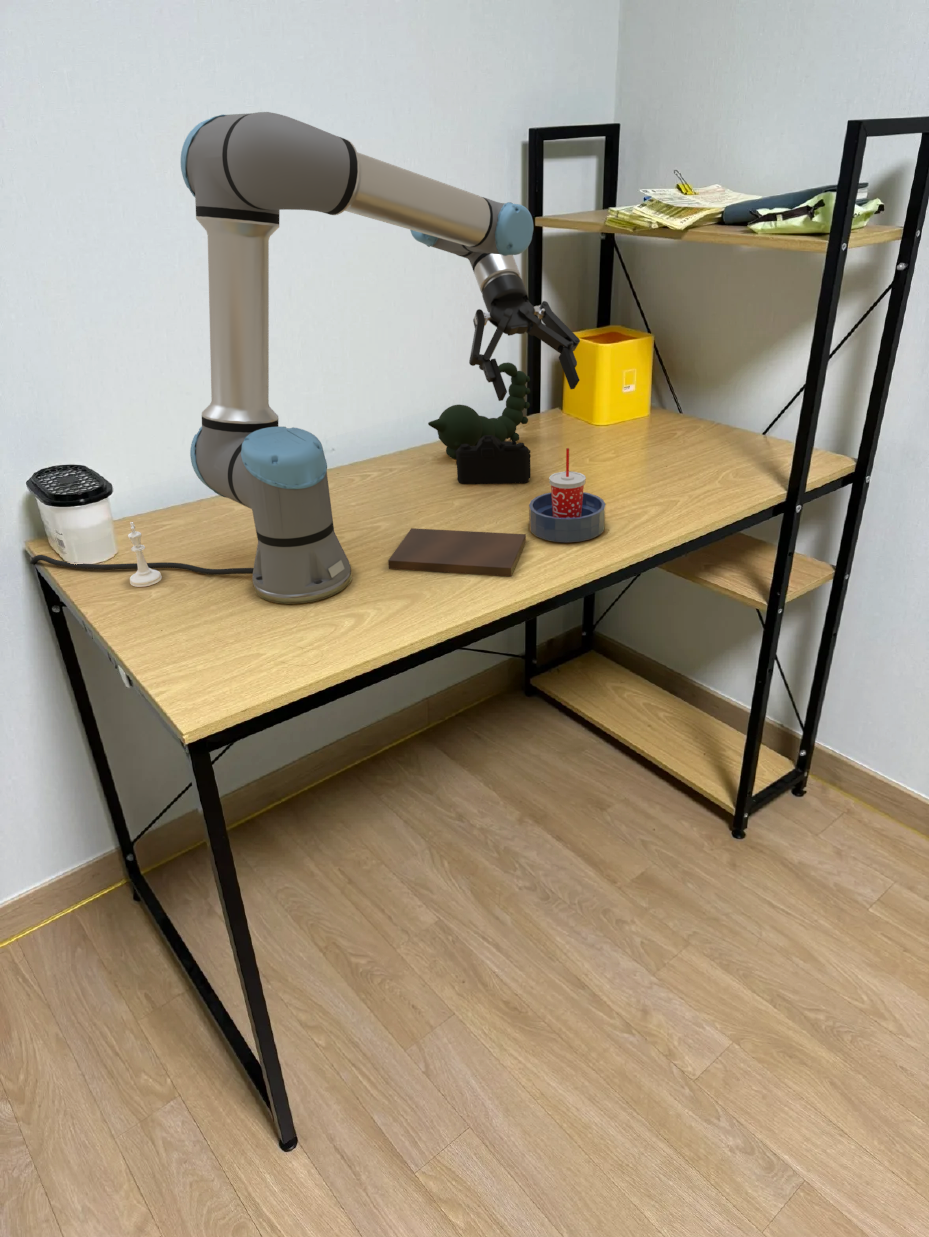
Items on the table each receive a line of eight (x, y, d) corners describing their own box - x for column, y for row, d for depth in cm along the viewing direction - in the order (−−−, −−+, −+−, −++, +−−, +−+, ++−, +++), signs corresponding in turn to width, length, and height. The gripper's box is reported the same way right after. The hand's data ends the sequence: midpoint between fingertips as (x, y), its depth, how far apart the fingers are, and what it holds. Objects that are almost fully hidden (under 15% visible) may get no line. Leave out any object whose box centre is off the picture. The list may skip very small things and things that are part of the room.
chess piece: (129, 589, 138) (114, 530, 133) (130, 576, 142) (115, 519, 137) (161, 583, 139) (147, 525, 134) (162, 571, 143) (148, 514, 138)
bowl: (523, 542, 146) (523, 517, 144) (536, 512, 157) (536, 489, 155) (600, 546, 144) (601, 520, 141) (607, 516, 154) (608, 492, 152)
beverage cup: (543, 523, 152) (543, 446, 145) (575, 517, 154) (576, 440, 147) (558, 536, 147) (558, 456, 140) (590, 530, 149) (592, 451, 142)
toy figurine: (509, 442, 198) (415, 457, 185) (513, 357, 190) (416, 366, 177) (535, 452, 192) (440, 468, 178) (540, 364, 183) (441, 374, 170)
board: (388, 568, 140) (387, 560, 139) (411, 536, 151) (411, 528, 150) (511, 576, 135) (511, 567, 135) (525, 542, 146) (525, 534, 146)
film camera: (532, 468, 178) (531, 425, 174) (530, 485, 170) (529, 440, 165) (458, 469, 180) (456, 426, 175) (453, 485, 171) (450, 441, 167)
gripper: (558, 292, 161) (596, 392, 156) (431, 308, 154) (466, 413, 149) (571, 264, 154) (612, 368, 149) (439, 280, 147) (477, 389, 142)
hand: (539, 390), depth 149 cm, fingers open, 13 cm apart
